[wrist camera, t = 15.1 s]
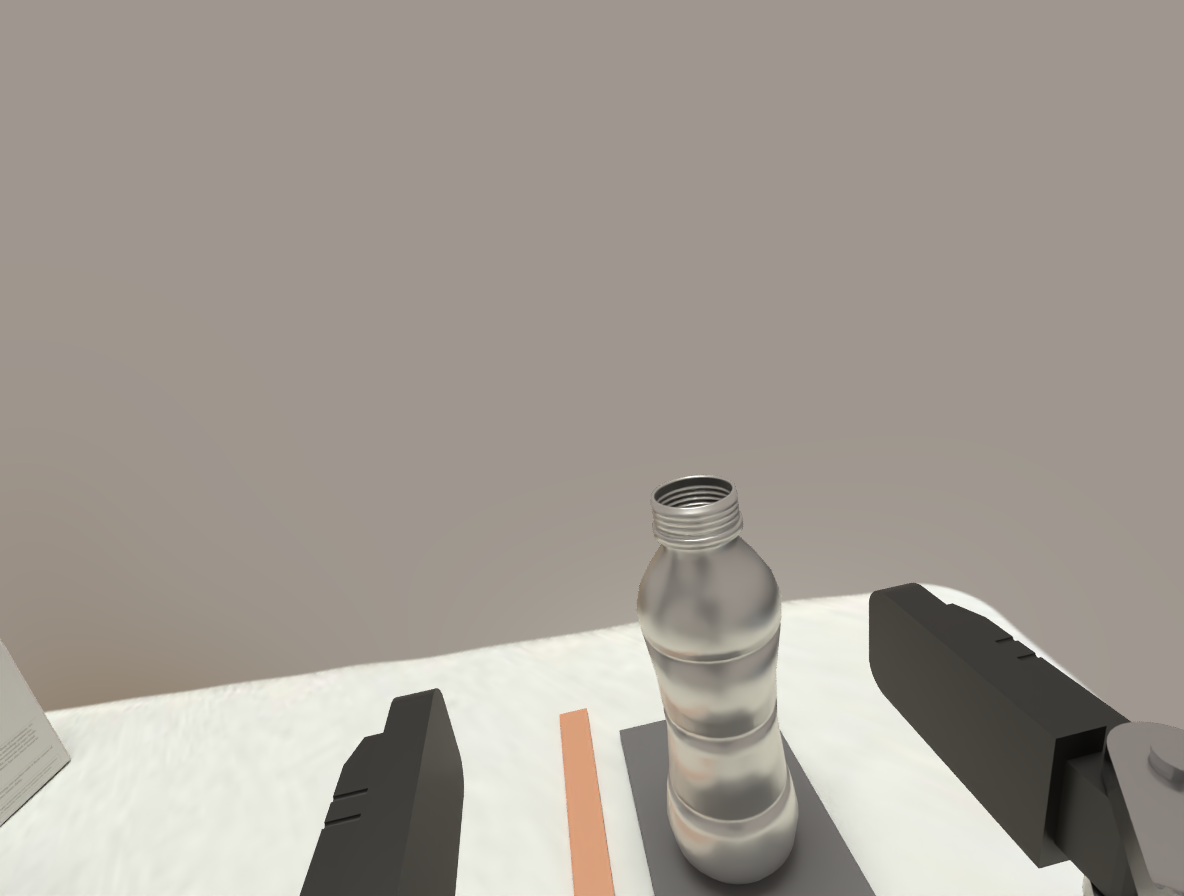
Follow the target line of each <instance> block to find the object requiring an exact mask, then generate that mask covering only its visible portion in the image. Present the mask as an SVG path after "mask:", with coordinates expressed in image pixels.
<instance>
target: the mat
mask: <svg viewBox="0 0 1184 896" xmlns="http://www.w3.org/2000/svg"><path fill="white" fill-rule="evenodd" d="M780 734H781V739H782V745H783V750H784V756H785V760H786V763H787V765H788V768H789V771H790V774H791V778H792V781H793V785H794V789H795V793H796V797H797V801H798V814H799V815H798V821H797V827H796V833H795V839H794V845H793V847H792V850H791V852H790V855H789V856H788V858H787V859H786V860H785V862H784V863H783V865H782V866H780V867H779V868H778V869H777V870H776V871H775V872H774V873H772V874H770V875H769V876H767V877H765V878H763V879H761V880H759V881H756V882H753V883H749V884H739V885H737V884H729V883H724V882H721V881H718V880H715V879H713V878H711V877H709V876H707V875H706V874H704V873H702V872H700V871H699V870H698V869H697V868H695V867H694V866H693V865H692V864H691V863H690V862H689V861H688V860H687V858H686V857H685V856H684V855H683V853H682V851H681V849H680V847H679V845H678V843H677V841H676V838H675V836H674V833H673V831H672V828H671V825H670V822H669V818H668V814H667V779H668V771H669V750H668V730H667V722H666V720H663V721H658V722H654V723H650V724H646V725H641V726H637V727H633V728H629V729H624V730H620V736H621V740H622V745H623V750H624V754H625V759H626V764H627V768H628V773H629V778H630V782H631V787H632V792H633V796H634V801H635V806H636V810H637V815H638V820H639V824H640V829H641V834H642V838H643V843H644V848H645V852H646V857H647V862H648V866H649V871H650V876H651V880H652V885H653V889H654V894H655V896H876V895H875V894H874V892H873V890H872V888H871V887H870V885H869V883H868V881H867V880H866V878H865V876H864V875H863V873H862V871H861V869H860V868H859V866H858V864H857V862H856V861H855V859H854V857H853V856H852V854H851V852H850V850H849V849H848V847H847V845H846V843H845V842H844V840H843V838H842V837H841V835H840V833H839V831H838V830H837V828H836V826H835V824H834V823H833V821H832V819H831V818H830V816H829V814H828V812H827V811H826V809H825V807H824V805H823V804H822V802H821V800H820V799H819V797H818V795H817V793H816V792H815V790H814V788H813V786H812V785H811V783H810V781H809V779H808V778H807V776H806V774H805V773H804V771H803V769H802V767H801V766H800V764H799V762H798V760H797V759H796V757H795V755H794V754H793V752H792V750H791V748H790V747H789V745H788V743H787V741H786V740H785V738H784V736H783V735H782V733H781V731H780Z"/></svg>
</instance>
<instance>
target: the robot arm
mask: <svg viewBox="0 0 1184 896" xmlns="http://www.w3.org/2000/svg"><path fill="white" fill-rule="evenodd" d="M869 662H870V667H871V671H872V674H873V677H874V679H875V681H876V683H877V685H878V687H879V689H880V690H881V692H882V693H883V694H884V696H885V697H886V698H887V699H888V700H889V701H890V702H891V703H892V705H893V706H894V707H895V708H896V709H897V710H898V711H899V712H900V714H901V715H902V716H903V717H904V718H905V719H906V720H907V721H908V723H909V724H910V725H911V726H912V727H913V728H914V729H915V730H916V731H917V733H918V734H919V735H920V736H921V737H922V738H923V739H924V740H925V742H926V743H927V744H928V745H929V746H930V747H931V748H932V749H933V751H934V752H935V753H936V754H937V755H938V756H939V757H940V758H941V759H942V761H943V762H944V763H945V764H946V765H947V766H948V767H949V768H950V770H951V771H952V772H953V773H954V774H955V775H956V776H957V777H958V779H959V780H960V781H961V782H962V783H963V784H964V785H965V786H966V788H967V789H968V790H969V791H970V792H971V793H972V794H973V795H974V796H975V798H976V799H977V800H978V801H979V802H980V803H981V804H982V805H983V807H984V808H985V809H986V810H987V811H988V812H989V813H990V814H991V816H992V817H993V818H994V819H995V820H996V821H997V822H998V823H999V824H1000V826H1001V827H1002V828H1003V829H1004V830H1005V831H1006V832H1007V833H1008V835H1009V836H1010V837H1011V838H1012V839H1013V840H1014V841H1015V842H1016V844H1017V845H1018V846H1019V847H1020V848H1021V849H1022V850H1023V851H1024V853H1025V854H1026V855H1027V856H1028V857H1029V858H1030V859H1031V860H1032V861H1033V863H1034V864H1035V865H1036V866H1037V867H1038V868H1042V867H1046V866H1050V865H1053V864H1057V863H1060V862H1064V861H1068V860H1071V861H1072V862H1073V863H1074V864H1075V865H1076V866H1077V868H1078V869H1079V870H1080V871H1081V872H1082V873H1083V874H1084V879H1083V886H1082V888H1083V896H1184V730H1182V729H1179V728H1176V727H1172V726H1168V725H1164V724H1158V723H1151V722H1131V721H1129V720H1128V719H1126V718H1125V717H1124V716H1122V715H1121V714H1119V713H1118V712H1117V711H1115V710H1114V709H1113V708H1111V707H1110V706H1108V705H1107V704H1106V703H1104V702H1103V701H1101V700H1100V699H1099V698H1097V697H1096V696H1094V695H1093V694H1092V693H1090V692H1089V691H1087V690H1086V689H1085V688H1083V687H1082V686H1081V685H1079V684H1078V683H1076V682H1075V681H1074V680H1072V679H1071V678H1069V677H1068V676H1067V675H1065V674H1064V673H1062V672H1061V671H1060V670H1058V669H1057V668H1055V667H1054V666H1053V665H1051V664H1050V663H1049V662H1047V661H1046V660H1044V659H1043V658H1042V657H1040V658H1038V657H1037V656H1036V655H1035V652H1033V651H1032V650H1030V649H1029V648H1028V647H1026V646H1025V645H1023V644H1022V643H1021V642H1019V641H1014V640H1013V637H1012V636H1011V635H1010V634H1008V633H1007V632H1005V631H1004V630H1003V629H1001V628H1000V627H998V626H997V625H996V624H994V623H993V622H991V621H990V620H989V619H987V618H986V617H984V616H981V615H979V614H976V613H974V612H972V611H969V610H967V609H965V608H962V607H960V606H957V605H955V604H948V605H946V604H945V603H944V602H942V601H941V600H940V599H938V598H937V597H936V596H934V595H933V594H932V593H930V592H929V591H928V590H926V589H925V588H924V587H922V586H921V585H919V584H917V583H909V584H904V585H900V586H895V587H891V588H887V589H882V590H878V591H874V592H873V593H872V594H871V596H870V599H869ZM463 798H464V778H463V768H462V762H461V757H460V753H459V749H458V746H457V743H456V739H455V736H454V732H453V729H452V726H451V722H450V719H449V715H448V712H447V709H446V705H445V702H444V698H443V695H442V693H441V691H440V690H439V689H438V688H436V689H432V690H427V691H423V692H418V693H414V694H410V695H405V696H401V697H396V698H394V699H393V701H392V703H391V707H390V710H389V714H388V717H387V721H386V725H385V728H384V732H383V733H381V734H376V735H372V736H368V737H364V739H363V740H362V741H361V743H360V744H359V745H358V747H357V748H356V750H355V751H354V752H353V754H352V755H351V756H350V758H349V759H348V760H347V762H346V763H345V764H344V766H343V768H342V771H341V774H340V777H339V780H338V783H337V786H336V789H335V792H334V795H333V799H334V800H333V802H331V804H330V807H329V810H328V813H327V816H326V819H325V822H324V823H325V828H324V829H322V831H321V834H320V837H319V840H318V843H317V846H316V849H315V852H314V855H313V858H312V860H311V863H310V866H309V869H308V872H307V875H306V878H305V881H304V884H303V887H302V890H301V893H300V896H455V890H456V878H457V867H458V855H459V844H460V832H461V821H462V809H463Z"/></svg>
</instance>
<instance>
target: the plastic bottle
mask: <svg viewBox="0 0 1184 896" xmlns="http://www.w3.org/2000/svg"><path fill="white" fill-rule="evenodd" d="M651 506H652V513H653V519H654V521H653V524H652V526H653V533H654V537H655V539H656V540H657V541H658V542H659V543H660V544H661V545H660V547H659V549H658V550H657V552H656V553H655V555H654V556H653V558H652V559H651V561H650V563H649V565H648V567H647V569H646V571H645V573H644V575H643V578H642V580H641V583H640V585H639V591H638V598H637V614H638V618H639V623H640V627H641V630H642V633H643V636H644V639H645V642H646V645H647V648H648V651H649V654H650V657H651V660H652V663H653V666H654V669H655V672H656V675H657V680H658V684H659V689H660V694H661V699H662V703H663V706H664V713H665V717H666V722H667V730H668V750H669V771H668V779H667V814H668V818H669V822H670V825H671V828H672V831H673V833H674V836H675V838H676V841H677V843H678V845H679V847H680V849H681V851H682V853H683V855H684V856H685V857H686V858H687V860H688V861H689V862H690V863H691V864H692V865H693V866H694V867H695V868H697V869H698V870H699V871H700V872H702V873H704V874H706V875H707V876H709V877H711V878H713V879H715V880H718V881H721V882H724V883H729V884H737V885H739V884H749V883H753V882H756V881H759V880H761V879H763V878H765V877H767V876H769V875H770V874H772V873H774V872H775V871H776V870H777V869H778V868H779V867H780V866H782V865H783V863H784V862H785V860H786V859H787V858H788V856H789V855H790V852H791V850H792V847H793V845H794V839H795V833H796V827H797V821H798V815H799V814H798V801H797V797H796V793H795V789H794V785H793V781H792V778H791V774H790V771H789V768H788V765H787V763H786V760H785V756H784V750H783V745H782V739H781V734H780V729H779V723H778V718H777V686H776V668H777V658H778V647H779V636H780V626H781V623H780V621H781V592H780V590H779V587H778V585H777V582H776V580H775V577H774V575H773V573H772V570H771V569H770V567H769V566H768V565H767V564H766V563H765V562H764V560H763V559H762V558H761V557H760V556H759V555H758V554H757V552H756V551H755V550H754V549H753V548H752V547H751V546H750V545H749V544H747V543H746V542H745V541H744V540H743V539H742V538H741V537H740V536H739V534H740V533H741V531H742V529H743V518H742V514H741V512H740V511H739V504H738V496H737V490H736V486H735V484H734V483H733V482H732V481H731V480H729V479H727V478H724V477H719V476H712V475H696V476H688V477H682V478H678V479H674V480H671V481H669V482H666V483H664V484H662V485H660V486H659V487H657V488H656V489H655V490H654V491H653V492H652V494H651Z"/></svg>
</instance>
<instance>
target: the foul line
mask: <svg viewBox="0 0 1184 896" xmlns="http://www.w3.org/2000/svg"><path fill="white" fill-rule="evenodd" d="M560 726H561V738H562V750H563V763H564V775H565V787H566V799H567V811H568V823H569V836H570V848H571V860H572V872H573V884H574V896H615V895H614V889H613V882H612V875H611V868H610V862H609V855H608V848H607V842H606V835H605V828H604V821H603V815H602V808H601V801H600V794H599V788H598V781H597V774H596V767H595V761H594V754H593V747H592V740H591V734H590V727H589V720H588V713H587V708H586V709H581V710H577V711H573V712H568V713H564V714H560Z"/></svg>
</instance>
